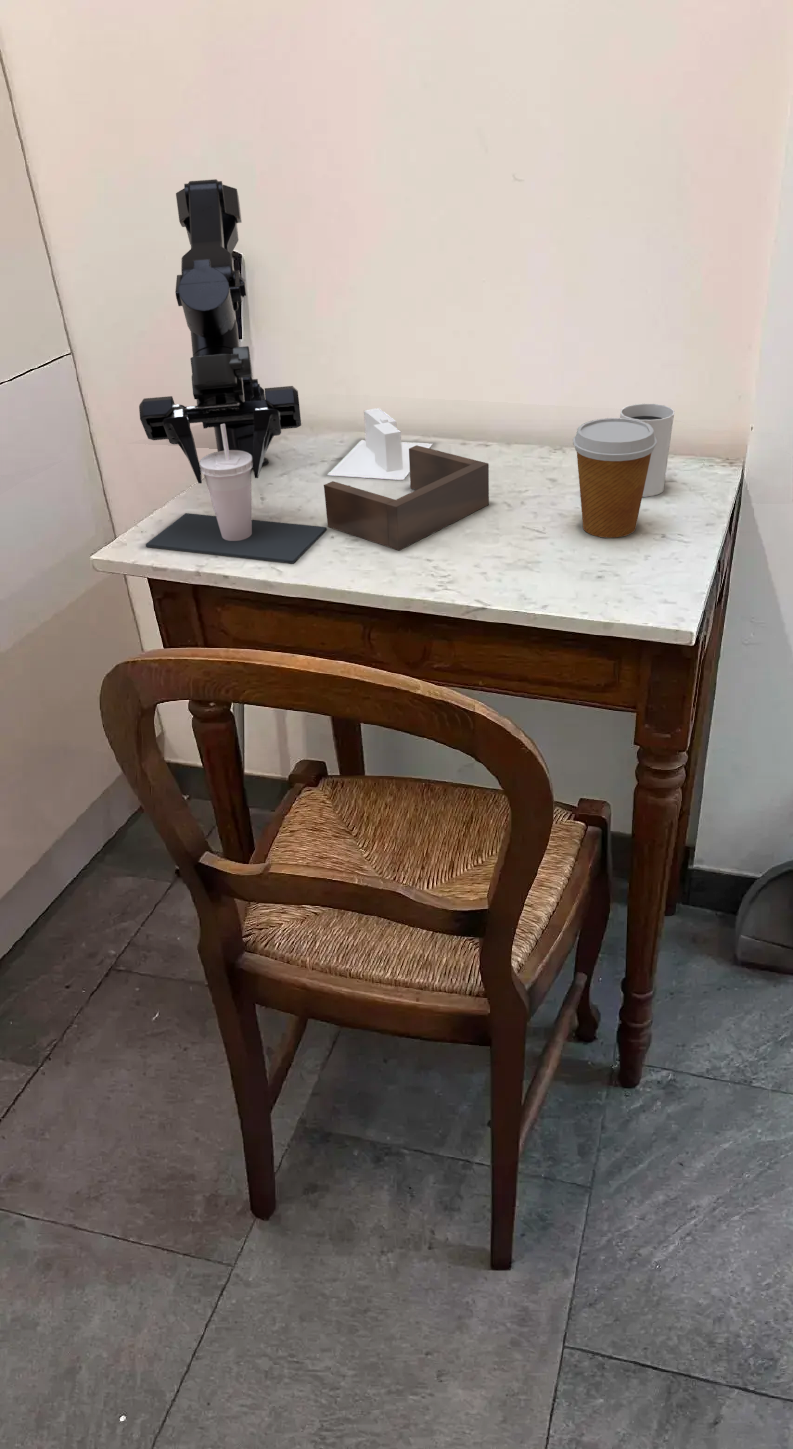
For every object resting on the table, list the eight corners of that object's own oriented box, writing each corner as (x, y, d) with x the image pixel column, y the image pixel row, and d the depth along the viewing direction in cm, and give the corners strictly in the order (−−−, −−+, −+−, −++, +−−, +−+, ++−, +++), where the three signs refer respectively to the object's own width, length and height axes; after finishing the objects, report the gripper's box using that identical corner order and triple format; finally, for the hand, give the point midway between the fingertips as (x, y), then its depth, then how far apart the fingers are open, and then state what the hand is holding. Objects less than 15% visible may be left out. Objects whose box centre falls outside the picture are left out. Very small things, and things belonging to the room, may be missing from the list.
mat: (145, 547, 131) (145, 544, 131) (186, 515, 138) (185, 513, 138) (293, 563, 124) (293, 560, 124) (326, 530, 132) (326, 527, 132)
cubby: (327, 526, 133) (323, 484, 130) (418, 484, 143) (416, 445, 140) (399, 550, 126) (396, 507, 123) (489, 504, 136) (488, 463, 133)
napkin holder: (360, 439, 160) (357, 401, 157) (433, 443, 157) (431, 404, 154) (326, 475, 148) (322, 435, 145) (404, 480, 145) (402, 439, 142)
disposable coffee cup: (631, 549, 123) (639, 448, 116) (556, 535, 127) (559, 437, 121) (661, 519, 129) (670, 422, 123) (588, 507, 134) (593, 412, 127)
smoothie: (226, 550, 128) (208, 437, 120) (201, 533, 132) (183, 423, 124) (272, 535, 131) (258, 423, 123) (246, 519, 135) (231, 410, 127)
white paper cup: (646, 502, 134) (652, 424, 129) (604, 489, 138) (608, 413, 133) (678, 487, 138) (685, 410, 132) (636, 475, 142) (642, 400, 136)
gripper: (125, 328, 120) (134, 456, 117) (289, 315, 122) (303, 441, 119) (144, 379, 131) (153, 497, 128) (295, 366, 132) (307, 483, 130)
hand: (227, 479), depth 126 cm, fingers closed on smoothie, 6 cm apart
